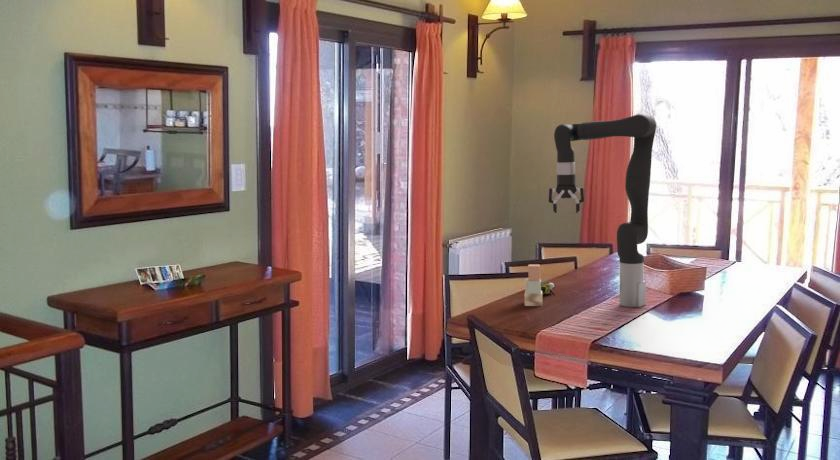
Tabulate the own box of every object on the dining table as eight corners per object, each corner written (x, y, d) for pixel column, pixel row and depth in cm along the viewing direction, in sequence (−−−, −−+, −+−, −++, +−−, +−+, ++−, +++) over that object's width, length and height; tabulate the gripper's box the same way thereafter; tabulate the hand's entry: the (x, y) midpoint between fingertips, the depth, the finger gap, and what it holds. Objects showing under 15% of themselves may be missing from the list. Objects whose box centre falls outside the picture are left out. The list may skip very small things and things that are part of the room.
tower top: (540, 290, 320) (540, 278, 319) (541, 293, 314) (540, 281, 314) (526, 290, 321) (525, 278, 320) (525, 293, 315) (525, 281, 314)
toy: (552, 292, 325) (563, 287, 338) (538, 281, 327) (551, 276, 340) (542, 304, 327) (554, 299, 340) (529, 293, 330) (541, 288, 343)
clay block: (540, 278, 319) (539, 264, 318) (539, 280, 315) (539, 266, 314) (528, 278, 320) (528, 264, 319) (528, 281, 315) (528, 266, 315)
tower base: (542, 302, 321) (542, 290, 320) (542, 306, 314) (542, 294, 314) (525, 302, 322) (525, 290, 322) (524, 306, 315) (524, 293, 315)
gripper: (583, 172, 322) (584, 211, 324) (548, 173, 325) (549, 212, 327) (583, 173, 315) (584, 213, 317) (548, 174, 318) (548, 213, 319)
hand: (566, 212), depth 322 cm, fingers open, 8 cm apart
